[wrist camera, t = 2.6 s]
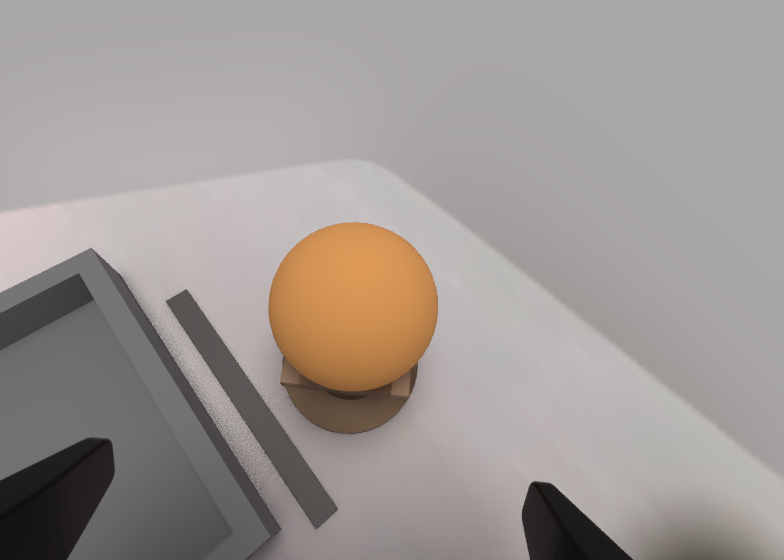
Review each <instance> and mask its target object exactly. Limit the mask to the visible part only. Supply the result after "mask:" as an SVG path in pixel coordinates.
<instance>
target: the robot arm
mask: <svg viewBox="0 0 784 560" xmlns="http://www.w3.org/2000/svg"><path fill="white" fill-rule="evenodd" d="M114 474H115V463H114V453H113V444H112V442H111V440H110V439H107V438H98V437H89V438H86V439H83V440H81V441H79V442H77V443H75V444H73V445H71V446H69V447H67V448H65V449H63V450H61V451H59V452H57V453H55V454H53V455H51V456H49V457H47V458H45V459H43V460H41V461H39V462H37V463H34V464H32V465H30V466H28V467H26V468H24V469H22V470H20V471H18V472H16V473H14V474H12V475H10V476H8V477H6V478H4V479H2V480H0V560H67V559H68V557H69V556H70V554H71V552H72V551H73V549H74V547H75V546H76V544H77V542H78V540H79V539H80V537H81V535H82V533H83V532H84V530H85V528H86V526H87V525H88V523H89V521H90V519H91V518H92V516H93V514H94V512H95V511H96V509H97V507H98V505H99V504H100V502H101V500H102V498H103V497H104V495H105V493H106V491H107V490H108V488H109V486H110V484H111V482H112V480H113V478H114ZM522 522H523V527H524V532H525V537H526V542H527V547H528V552H529V557H530V560H633V559H632V558H631V557H630V556H629V555H628V554H627V553H625V552H624V551H623V550H622V549H621V548H620V547H619V546H618V545H617V544H616V543H615V542H614V541H613V540H612V539H610V538H609V537H608V536H607V535H606V534H605V533H604V532H603V531H602V530H601V529H600V528H599V527H598V526H597V525H595V524H594V523H593V522H592V521H591V520H590V519H589V518H588V517H587V516H586V515H585V514H584V513H583V512H582V511H580V510H579V509H578V508H577V507H576V506H575V505H574V504H573V503H572V502H571V501H570V500H569V499H568V498H567V497H565V496H564V495H563V494H562V493H561V492H560V491H559V490H558V489H557V488H556V487H555V486H554V485H552V484H551V483H548V482H538V481H534V482H532V483H531V484H530V486H529V489H528V492H527V496H526V499H525V502H524V505H523V509H522Z"/></svg>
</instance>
